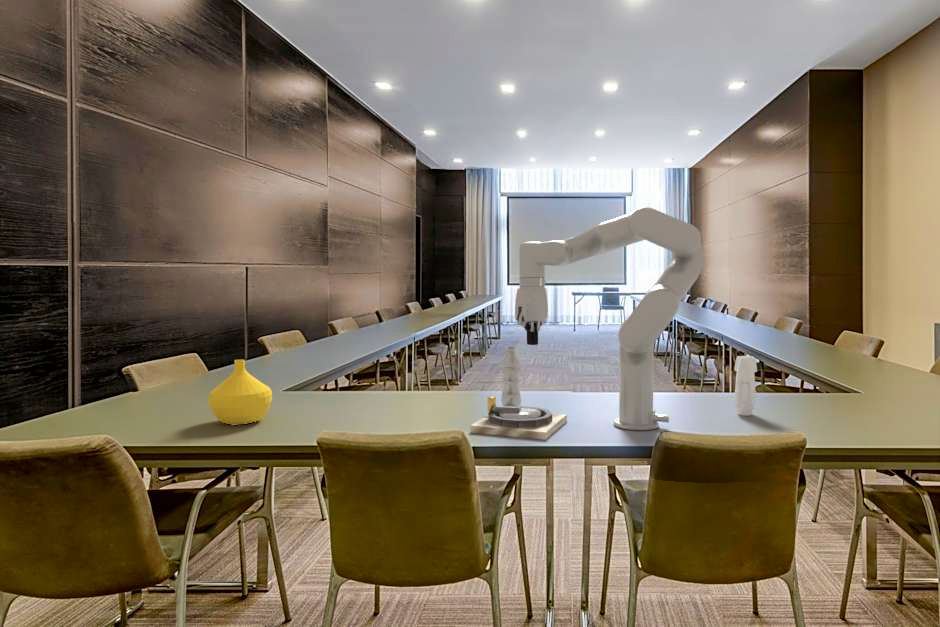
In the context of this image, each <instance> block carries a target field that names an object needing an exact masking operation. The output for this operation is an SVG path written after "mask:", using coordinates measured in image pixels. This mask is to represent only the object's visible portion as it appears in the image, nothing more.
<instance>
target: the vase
mask: <svg viewBox="0 0 940 627" xmlns="http://www.w3.org/2000/svg"><path fill="white" fill-rule="evenodd" d="M245 362H246V361H245V359H234V363H233V364H234V370H233V372H232V373H231V374H230V375H229V376H228V377H227V378H226V379H224V380H223V381H222V382H221V383H219V384H218V385H217V387H215V388H213V390H211V391H210V393H209V395H208V406H209V407H210V409H211V411H212V414H213V415H214V416H215V417H216V418H217V419H218V421H219V422H221V423H222V424H224V423H226V424H245V423H252V422H255V423H257V422H256V421H258V422H259V421H260V420H262V419H263V418H264V417H265V415H266V414H267V412H268V411H269V409H270V406H271V404H272V401H273V391H272V389H271V387H269V386H268V385H267V384H264V383H263V382H262V381H260V380H258V379H257V378H256V377H255V376H253V375H252V374H250V373H249V372H248V371H247V370H246V363H245ZM226 424H225V425H226ZM252 424H253V423H252Z"/></svg>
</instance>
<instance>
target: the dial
mask: <svg viewBox="0 0 940 627" xmlns="http://www.w3.org/2000/svg"><path fill="white" fill-rule="evenodd" d="M496 399H497V398H496V396H492V395H491V396H487V412H499V417H502V418H507V419H534V418H539V417H541V412H540V411H539V410H536V409H532V408H521V407H516V406H503V405H496V404H497V402H496Z"/></svg>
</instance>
